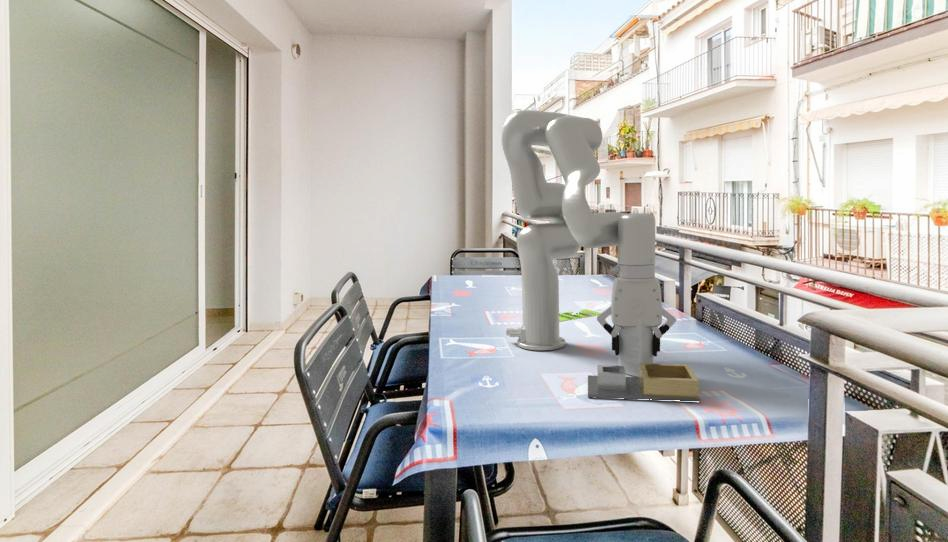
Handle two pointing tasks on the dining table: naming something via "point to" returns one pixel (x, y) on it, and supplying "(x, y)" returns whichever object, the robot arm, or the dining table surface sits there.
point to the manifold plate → (645, 383)
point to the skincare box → (635, 347)
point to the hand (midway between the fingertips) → (635, 353)
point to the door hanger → (577, 315)
